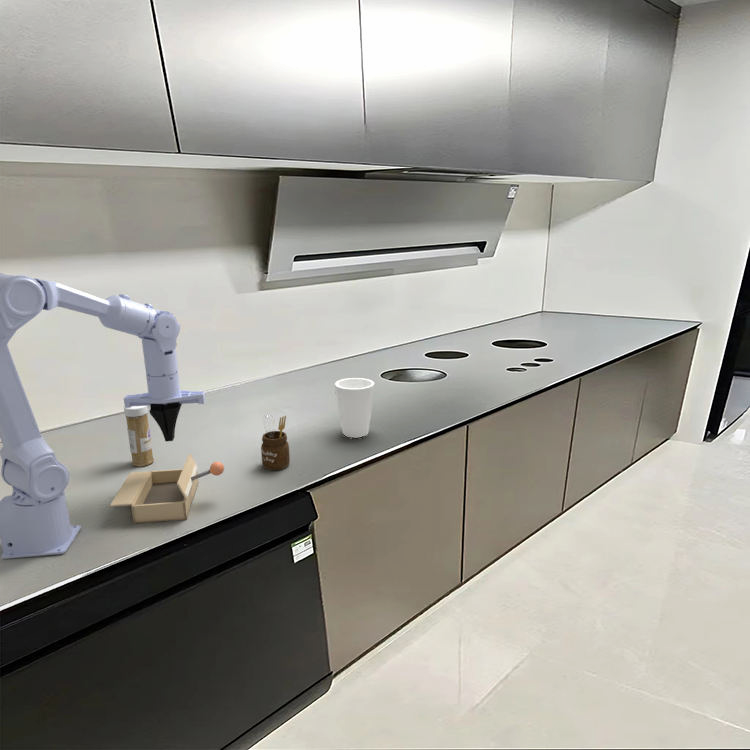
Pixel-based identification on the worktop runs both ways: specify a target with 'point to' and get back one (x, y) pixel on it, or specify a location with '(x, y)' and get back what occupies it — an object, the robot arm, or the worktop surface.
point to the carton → (155, 496)
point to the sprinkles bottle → (139, 435)
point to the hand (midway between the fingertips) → (169, 439)
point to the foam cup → (355, 405)
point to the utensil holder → (275, 448)
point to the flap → (190, 471)
